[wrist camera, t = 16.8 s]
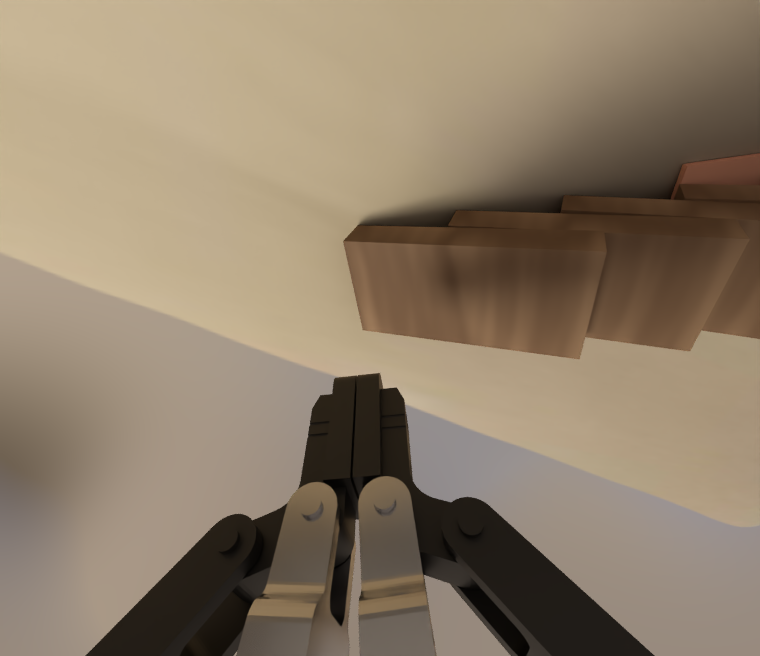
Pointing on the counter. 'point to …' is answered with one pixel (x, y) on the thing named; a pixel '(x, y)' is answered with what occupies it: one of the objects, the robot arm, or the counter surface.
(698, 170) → the end pad
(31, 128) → the counter surface
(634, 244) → the domino
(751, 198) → the domino
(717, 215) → the domino
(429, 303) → the domino
